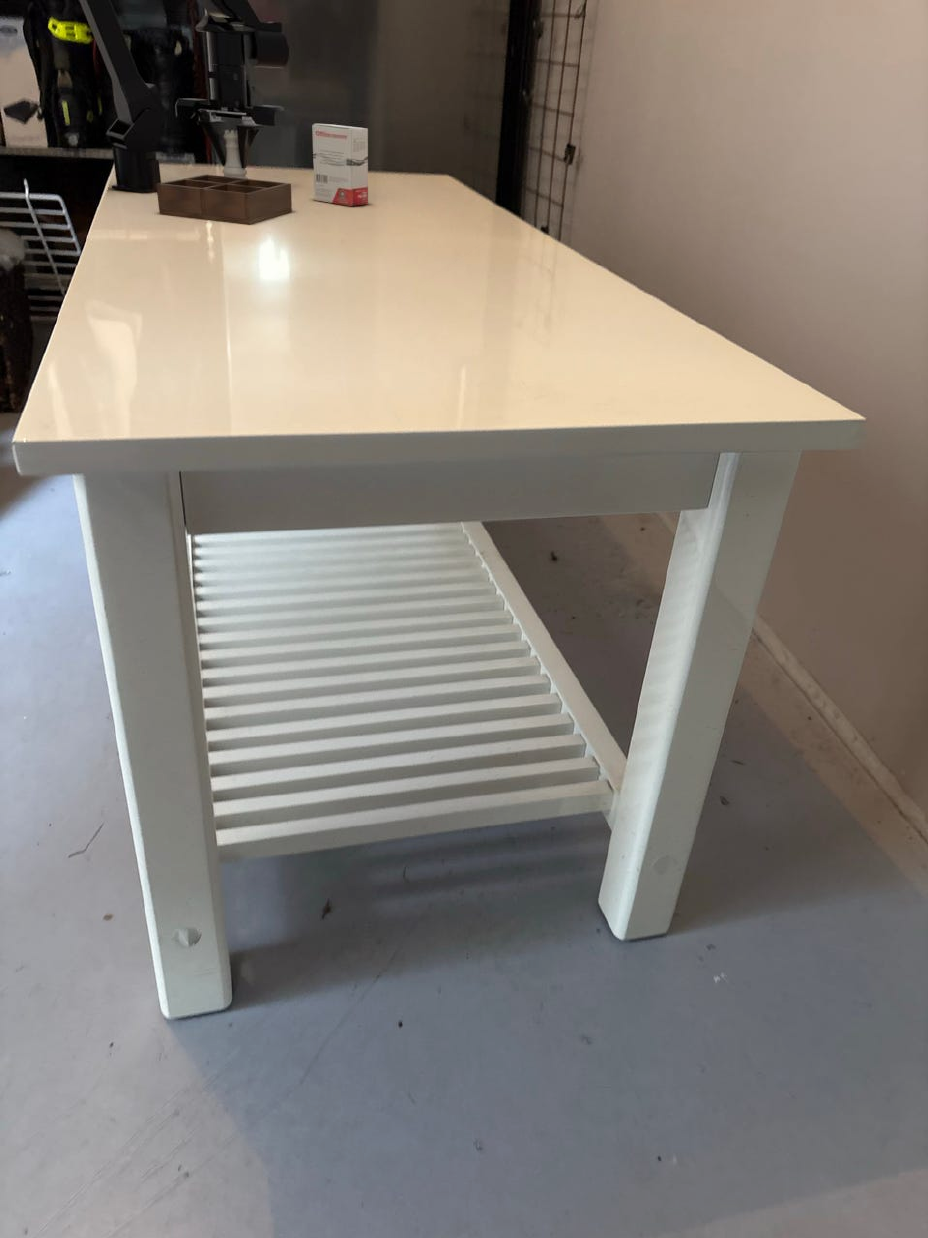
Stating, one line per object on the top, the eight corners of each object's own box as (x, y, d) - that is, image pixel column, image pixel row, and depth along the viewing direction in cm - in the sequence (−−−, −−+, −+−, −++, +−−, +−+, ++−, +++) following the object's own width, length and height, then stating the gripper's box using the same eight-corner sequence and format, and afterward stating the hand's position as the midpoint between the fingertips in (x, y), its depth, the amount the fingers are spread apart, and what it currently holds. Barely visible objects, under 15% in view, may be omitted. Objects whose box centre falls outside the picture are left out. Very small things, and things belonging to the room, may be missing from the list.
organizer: (159, 213, 135) (156, 183, 133) (208, 201, 147) (206, 174, 145) (249, 224, 132) (248, 193, 130) (292, 211, 144) (291, 183, 142)
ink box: (369, 204, 156) (370, 127, 150) (352, 206, 152) (351, 127, 146) (330, 197, 160) (329, 122, 153) (312, 199, 156) (310, 122, 150)
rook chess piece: (245, 182, 161) (242, 132, 157) (219, 181, 161) (216, 130, 157) (250, 180, 165) (247, 130, 160) (226, 178, 165) (222, 128, 160)
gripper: (298, 69, 158) (301, 168, 166) (202, 61, 162) (209, 158, 170) (270, 69, 149) (275, 173, 157) (169, 60, 153) (178, 163, 161)
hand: (234, 166), depth 162 cm, fingers closed on rook chess piece, 3 cm apart
